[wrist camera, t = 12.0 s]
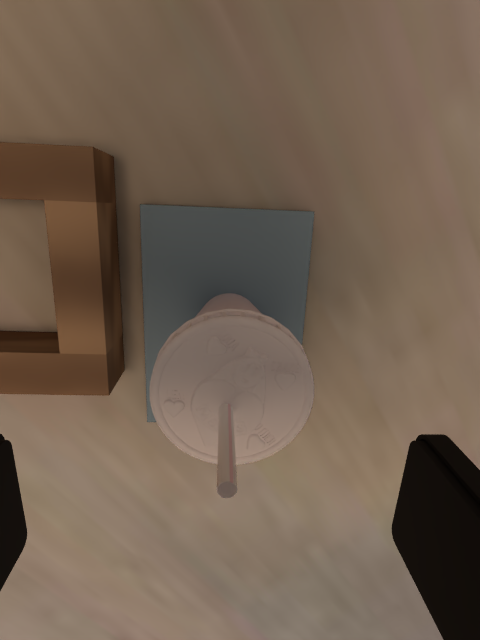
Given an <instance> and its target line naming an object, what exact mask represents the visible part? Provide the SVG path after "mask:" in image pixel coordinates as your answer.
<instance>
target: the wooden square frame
mask: <svg viewBox="0 0 480 640" xmlns="http://www.w3.org/2000/svg"><path fill="white" fill-rule="evenodd" d="M0 198H3V199H26V200H44V205H45V215H46V225H47V234H48V244H49V254H50V263H51V273H52V283H53V292H54V302H55V312H56V321H57V331H58V333H57V332H16V331H0V394H49V395H110V393H111V391H112V390H113V388H114V386H115V385H116V383H117V381H118V380H119V378H120V377H121V375H122V373H123V372H124V351H123V332H122V312H121V293H120V274H119V254H118V235H117V215H116V196H115V176H114V157H113V156H111V155H109V154H107V153H105V152H103V151H100V150H98V149H96V148H94V147H85V146H65V145H45V144H25V143H5V142H0Z"/></svg>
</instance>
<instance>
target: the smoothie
mask: <svg viewBox="0 0 480 640" xmlns="http://www.w3.org/2000/svg"><path fill="white" fill-rule="evenodd" d="M313 400H314V379H313V374H312V371H311V367H310V364H309V361H308V359H307V356H306V354H305V352H304V349H303V347H302V345H301V344H300V342H299V341H298V340H297V339H296V338H295V336H294V335H293V334H292V333H291V332H290V330H289V329H287V328H286V327H285V326H283V325H282V324H280V323H279V322H277V321H276V320H274V319H273V318H272V317H269V316H266V315H263V314H262V313H261V312H260V311H259V310H258V309H257V308H256V307H255V306H254V305H253V304H252V303H251V302H250V301H249V300H248V299H246V298H245V297H243V296H241V295H238V294H233V293H225V294H220V295H217V296H215V297H213V298H212V299H210V300H209V301H208V302H207V303H206V304H205V306H204V307H203V308H202V309H201V311H200V312H199V313H198V314H197V315H196V317H195V318H193V319H191V320H188V321H187V322H185V323H184V324H183V325H182V326H181V327H179V328H178V329H177V330H176V331H174V332H173V333H172V334H171V335H170V336H169V338H168V339H167V341H166V342H165V344H164V345H163V346H162V348H161V349H160V351H159V353H158V356H157V359H156V362H155V365H154V368H153V372H152V376H151V381H150V403H151V408H152V412H153V415H154V417H155V420H156V422H157V424H158V426H159V427H160V429H161V430H162V432H163V433H164V434H165V436H166V437H167V438H168V439H169V440H170V441H171V442H172V443H173V444H174V445H175V446H176V447H178V448H179V449H180V450H182V451H183V452H185V453H187V454H188V455H190V456H192V457H195V458H197V459H199V460H202V461H205V462H209V463H214V464H217V493H218V494H219V496H221V497H223V498H231V497H233V496H234V495H235V494H236V492H237V475H236V465H241V464H247V463H252V462H256V461H259V460H262V459H264V458H267V457H269V456H271V455H273V454H275V453H277V452H278V451H280V450H281V449H283V448H284V447H285V446H287V445H288V444H289V443H290V442H291V441H292V440H293V439H294V438H295V437H296V436H297V435H298V434H299V432H300V431H301V429H302V428H303V426H304V425H305V423H306V421H307V419H308V417H309V415H310V412H311V409H312V405H313Z"/></svg>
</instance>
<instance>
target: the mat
mask: <svg viewBox="0 0 480 640" xmlns="http://www.w3.org/2000/svg"><path fill="white" fill-rule="evenodd" d="M313 221H314V212H311V211H287V210H264V209H240V208H216V207H192V206H169V205H145V204H140V222H141V251H142V281H143V310H144V340H145V369H146V398H147V422H156V420H155V417H154V415H153V412H152V408H151V403H150V381H151V376H152V372H153V368H154V365H155V362H156V359H157V356H158V353H159V351H160V349H161V348H162V346H163V345H164V344H165V342H166V341H167V339H168V338H169V336H170V335H171V334H172V333H173V332H174V331H176V330H177V329H178V328H179V327H181V326H182V325H183V324H184V323H185V322H187V321H188V320H191V319H193V318H195V317H196V315H197V314H198V313H199V312H200V311H201V309H202V308H203V307H204V306H205V304H206V303H207V302H208V301H209V300H210V299H212V298H213V297H215V296H217V295H220V294H225V293H233V294H238V295H241V296H243V297H245V298H246V299H248V300H249V301H250V302H251V303H252V304H253V305H254V306H255V307H256V308H257V309H258V310H259V311H260V312H261V313H262V314H263V315H266V316H269V317H272V318H273V319H274V320H276V321H277V322H279V323H280V324H282V325H283V326H285V327H286V328H287V329H289V330H290V332H291V333H292V334H293V335H294V336H295V338H296V339H297V340H298V341H299V342H300V344H301V345H302V339H303V329H304V318H305V307H306V296H307V286H308V275H309V264H310V254H311V243H312V232H313Z"/></svg>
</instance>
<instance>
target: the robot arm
mask: <svg viewBox="0 0 480 640" xmlns="http://www.w3.org/2000/svg"><path fill="white" fill-rule="evenodd" d="M392 535H393V539H394V542H395V544H396V546H397V548H398V550H399V552H400V554H401V556H402V558H403V560H404V562H405V564H406V566H407V568H408V570H409V572H410V574H411V576H412V578H413V580H414V582H415V584H416V586H417V588H418V590H419V592H420V594H421V596H422V598H423V600H424V602H425V604H426V606H427V608H428V610H429V612H430V614H431V616H432V618H433V620H434V622H435V624H436V626H437V628H438V630H439V632H440V633H441V635H442V637H443V639H444V640H480V470H479V469H478V468H477V467H476V466H475V465H474V464H473V463H472V462H471V460H470V459H469V458H468V457H467V456H466V455H465V454H464V453H463V452H462V451H461V450H460V449H459V448H458V447H457V446H456V445H455V444H454V442H453V441H452V440H451V439H450V438H449V437H447V436H446V435H419V436H418V437H417V439H416V441H412V442H411V443H410V446H409V450H408V455H407V459H406V464H405V469H404V473H403V478H402V482H401V487H400V491H399V496H398V500H397V505H396V509H395V514H394V519H393V523H392ZM26 539H27V528H26V522H25V516H24V511H23V505H22V500H21V494H20V488H19V483H18V477H17V472H16V466H15V460H14V455H13V449H12V445H11V442H10V441H8V440H5V439H4V437H3V435H2V434H0V591H1V589H2V587H3V585H4V583H5V581H6V580H7V578H8V576H9V574H10V572H11V571H12V569H13V567H14V565H15V563H16V561H17V560H18V558H19V556H20V554H21V552H22V550H23V548H24V546H25V543H26Z"/></svg>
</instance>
